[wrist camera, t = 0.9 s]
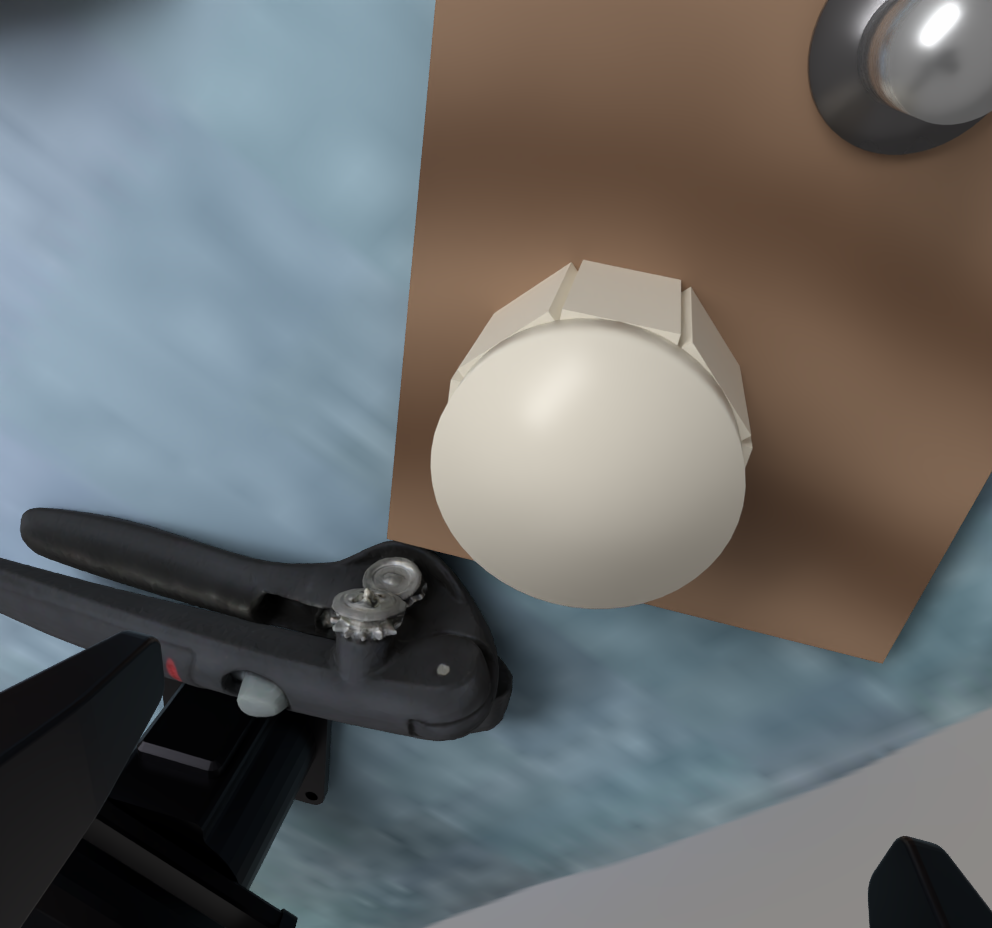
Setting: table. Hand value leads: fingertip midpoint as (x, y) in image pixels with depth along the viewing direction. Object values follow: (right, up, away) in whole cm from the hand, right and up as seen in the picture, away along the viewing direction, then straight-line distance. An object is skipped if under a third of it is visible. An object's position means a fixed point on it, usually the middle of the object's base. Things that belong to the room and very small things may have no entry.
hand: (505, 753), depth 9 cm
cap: (+2, +5, +9) cm, 11 cm away
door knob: (+8, +12, +6) cm, 15 cm away
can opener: (-8, 0, +17) cm, 19 cm away
